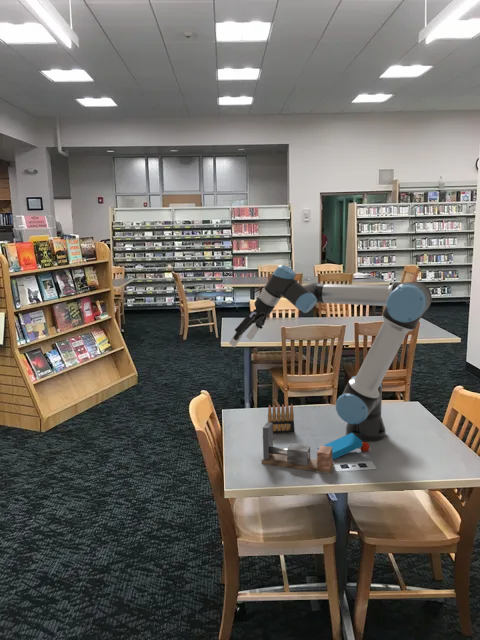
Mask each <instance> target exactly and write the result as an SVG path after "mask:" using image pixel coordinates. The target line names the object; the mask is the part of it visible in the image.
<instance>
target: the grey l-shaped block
mask: <svg viewBox="0 0 480 640" xmlns="http://www.w3.org/2000/svg"><path fill="white" fill-rule="evenodd" d="M262 449H263V450H262V452H263V453H262V455H263V457H262V459H270V457H271V456H272V455H273V454H278V455H285V456H287V448H286V447H285V448H284V447H277V446H274V434H273V423H270V422H268V421H267V422H266V423H265V425H264V426H262ZM309 456H310V457H311V451H310V452H308V459H309Z"/></svg>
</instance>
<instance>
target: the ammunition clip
mask: <svg viewBox="0 0 480 640" xmlns="http://www.w3.org/2000/svg"><path fill="white" fill-rule="evenodd" d="M272 405H273V406H271V404H269V405H268V409H267V410H268V411H267V413H268V414H267V422H270V423H273V435H276V434H278V435H279V434H294V433H296V432H295V431H296V430H295V415H294V414H295V412H294V405H293V403H290V406H289V403H287V404H286V405H284V404H283V403H282V404H281V406H280V404H278V405H277V407H276V405H275V404H272Z"/></svg>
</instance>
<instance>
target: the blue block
mask: <svg viewBox="0 0 480 640" xmlns="http://www.w3.org/2000/svg"><path fill="white" fill-rule="evenodd" d="M322 446H329V447H332V461H333V460H336V459H338V458H340V457H342V456H344V455H346V454H348V453H350V452H353V451H355V450H357V449H360V450H361V451H362V452H368V451H369V450H370V444H369V443H368V442H367V441H361V439H359V438H358V437H357V436H355V435H354V434H353V433H350V434H348V435H347V434H346V435H344V436H341V437H340V438H339V437H338V438H337V439H335V440H332V441H331V442H328V443H325V444H324V445H322ZM319 448H320V446H319V447H317V451H318V450H319Z"/></svg>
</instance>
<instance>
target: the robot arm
mask: <svg viewBox="0 0 480 640" xmlns="http://www.w3.org/2000/svg"><path fill="white" fill-rule="evenodd" d="M295 278H296V272H295V271H294V269H292V268H291V267H289V266H287V265H285V264H280V265H278V266H277V267H276V269H275V270H274V272H273V273H272V275H271V276H270V278H269V279H268V281H267V283H266V284H265V286H264V287H262V289H261V290H262V291H260V294H259V296H258V297H257V298H256V300H255V302H254V307H255V309H254V310H253V311H252V310H250V311H249V313H248V314H247V315H246V317H245V318H244V319H243V320H242V321H241V322H240V323H239V324H238V326H237V327H236V328H235V329H234V331H235V333H234V335H233V337H232V338H230V341H229V343H228V344H230V345H231V346H232V347H233V348H236V346H237V344H238V343H239V342H240V340H241V338H242V337H243V336H244V333H245V332H246V331H247V330H248V329H249V328H250V327H251V328H250V330H249V331H248V333H247V334H246V336H245V337H246V338H247V339H248V340H250V341H252V340H253V339H254V337H255V336H256V334H257V332H258V331H259V330H262V329H263V327H264V325H265V323H266V320H267V318H268V316H269V314H272V312H273V310H274V309H275V306H277V304H278V303H279V301H280V300H281V299H282V297H284V299H286V300H287V301H288V302H289V303H291V304H292V305H293V306H294V307H295V308H296V309H297V310H299V311H301V312H302V313H304V314H306V313H308V312H310V311H312V309H313V308H315V307H314V306H315V305H316V304H336V305H338V304H341V305H357V306H359V305H360V306H361V305H362V306H376V307H377V306H378V307H379V306H380V307H384V310H383V312H382V314H381V316H382V318H383V321H382V324H381V326H380V328H379V331H378V332H377V334H376V337H374V340H373V343H372V344H371V346H370V348H369V350H368V352H367V354H366V356H365V358H364V359H363V362H362V364H361V366H360V368H359V370H358V372H357V373H356V375H355V376H352V377H351V378H350V379H349V380H348V382H347V384H346V386H345V388H344V390H343V392H342V394H341V395H339V396H338V398H337V400H336V402H335V410H336V412H337V415H338V417H339V418H340V419H341V420H343V422H344V423H346V425H345V434H346V435H348V434H350V433H353V434H354V435H355V436H357V437H358V438H359V439H361V441H362V442H375V441H376V442H377V441H380V440H383V439H384V438H385V437H386V436H387V435H386V434H387V433H386V432H387V431H386V427H385V424H384V421H383V417H382V403H383V402H382V397H383V393H382V392H383V390H382V389H383V384H382V383H383V380H384V378H385V376H386V374H387V373H388V370H389V369H390V367H391V365H392V363H393V361H394V359H395V357H396V355H397V354H398V352H399V349H400V347H401V346H402V344H403V342H404V340H405V338H406V336H407V335H408V333H409V332H412V331H414V330H415V329H416V327H417V326H418V324H419V322H420V320H421V319H422V316H423V315H424V313H425V312H427V310H428V309H429V308H430V306H431V303H432V299H433V297H432V293H431V290H430V288H429V287H428V286H427V285H426V284H424V283H422V282H420V281H407V282H406V281H405V282H392V283H391V284H390V285H387V284H385V285H383V284H348V283H347V284H346V283H345V284H343V283H341V284H340V283H320V282H311V283H309V284H306V285H302V284H301V283H299V282H298V281H297V280H296V279H295Z"/></svg>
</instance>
